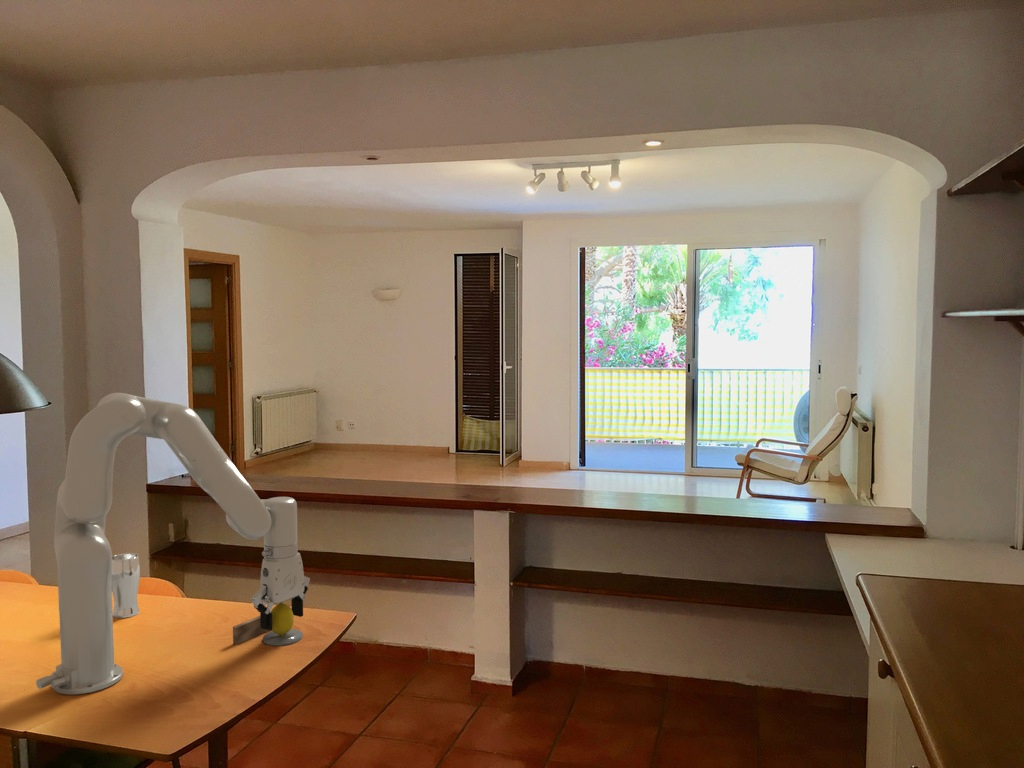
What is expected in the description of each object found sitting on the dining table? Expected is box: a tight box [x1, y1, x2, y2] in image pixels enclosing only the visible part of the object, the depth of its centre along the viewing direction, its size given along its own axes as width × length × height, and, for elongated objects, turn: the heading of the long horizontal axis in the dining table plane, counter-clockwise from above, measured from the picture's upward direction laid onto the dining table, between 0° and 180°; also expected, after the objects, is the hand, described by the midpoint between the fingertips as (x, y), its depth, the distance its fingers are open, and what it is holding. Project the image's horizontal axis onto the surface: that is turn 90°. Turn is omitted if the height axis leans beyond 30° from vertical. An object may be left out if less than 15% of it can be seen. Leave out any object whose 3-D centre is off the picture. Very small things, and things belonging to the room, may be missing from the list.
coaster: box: [262, 628, 304, 647], centre depth 181 cm, size 9×9×1 cm
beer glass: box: [112, 552, 141, 619], centre depth 196 cm, size 7×7×15 cm
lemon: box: [271, 602, 295, 636], centre depth 180 cm, size 6×6×8 cm
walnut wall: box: [232, 611, 271, 646], centre depth 184 cm, size 16×1×4 cm, turn 151°
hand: (282, 622), depth 181 cm, fingers open, 9 cm apart
